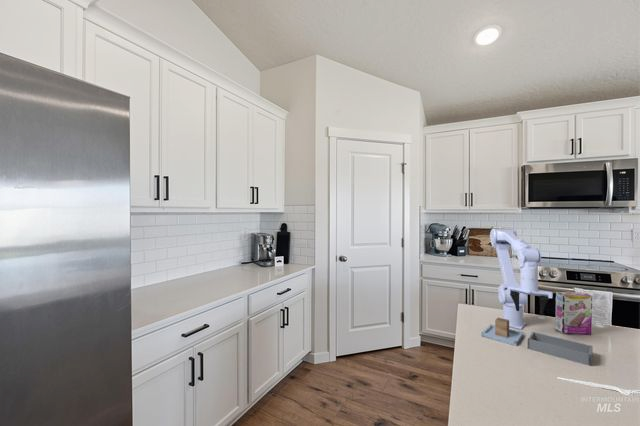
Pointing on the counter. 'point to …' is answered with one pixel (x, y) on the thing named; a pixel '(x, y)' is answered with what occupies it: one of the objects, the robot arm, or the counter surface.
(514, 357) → the counter surface
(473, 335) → the counter surface
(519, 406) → the counter surface
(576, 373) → the counter surface
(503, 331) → the walnut block
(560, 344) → the gray rectangular bin
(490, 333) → the light blue tray
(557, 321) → the candy bar box
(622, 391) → the fork
